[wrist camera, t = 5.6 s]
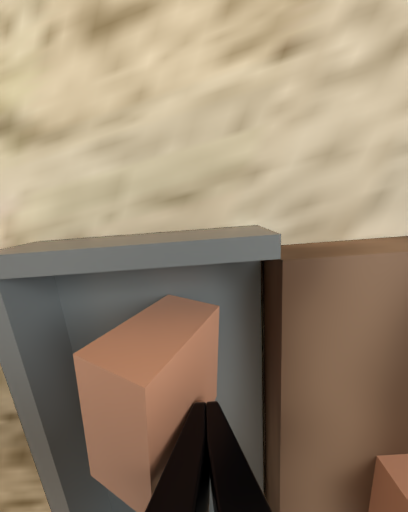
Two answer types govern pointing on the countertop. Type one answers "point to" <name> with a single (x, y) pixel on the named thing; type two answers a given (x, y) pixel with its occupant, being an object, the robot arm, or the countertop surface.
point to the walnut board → (334, 370)
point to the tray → (112, 315)
